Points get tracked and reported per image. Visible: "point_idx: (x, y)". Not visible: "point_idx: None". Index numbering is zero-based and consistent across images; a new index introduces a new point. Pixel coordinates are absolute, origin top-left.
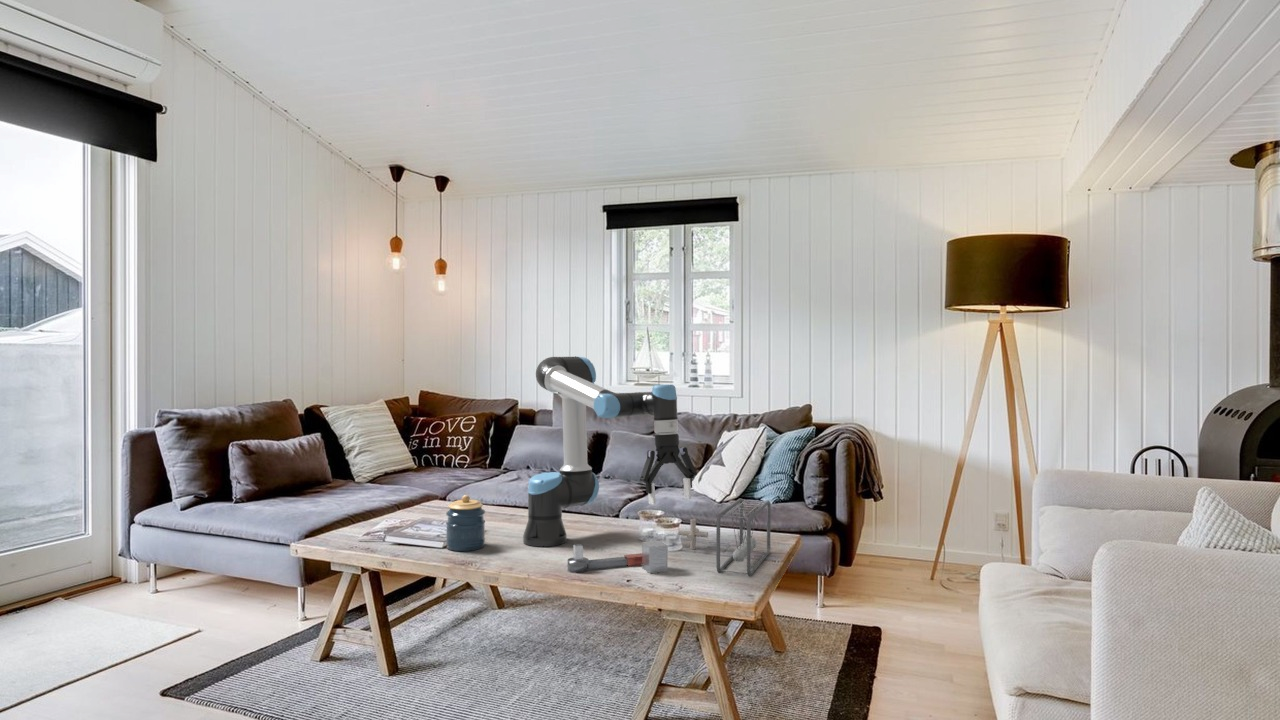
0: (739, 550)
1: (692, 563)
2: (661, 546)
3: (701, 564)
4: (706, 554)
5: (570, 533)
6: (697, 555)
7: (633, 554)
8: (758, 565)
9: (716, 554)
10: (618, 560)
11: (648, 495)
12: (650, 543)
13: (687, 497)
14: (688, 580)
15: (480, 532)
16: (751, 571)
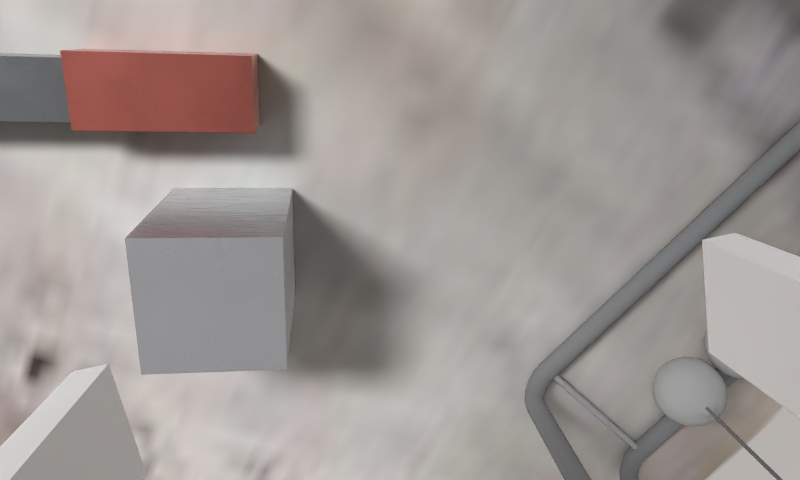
0: (703, 418)
1: (492, 197)
2: (239, 368)
3: (528, 231)
4: (664, 52)
5: None
6: (604, 53)
7: (133, 61)
8: None
9: (547, 446)
10: (5, 120)
11: (8, 443)
12: (180, 289)
13: (718, 323)
14: (341, 439)
15: None
16: (656, 448)
